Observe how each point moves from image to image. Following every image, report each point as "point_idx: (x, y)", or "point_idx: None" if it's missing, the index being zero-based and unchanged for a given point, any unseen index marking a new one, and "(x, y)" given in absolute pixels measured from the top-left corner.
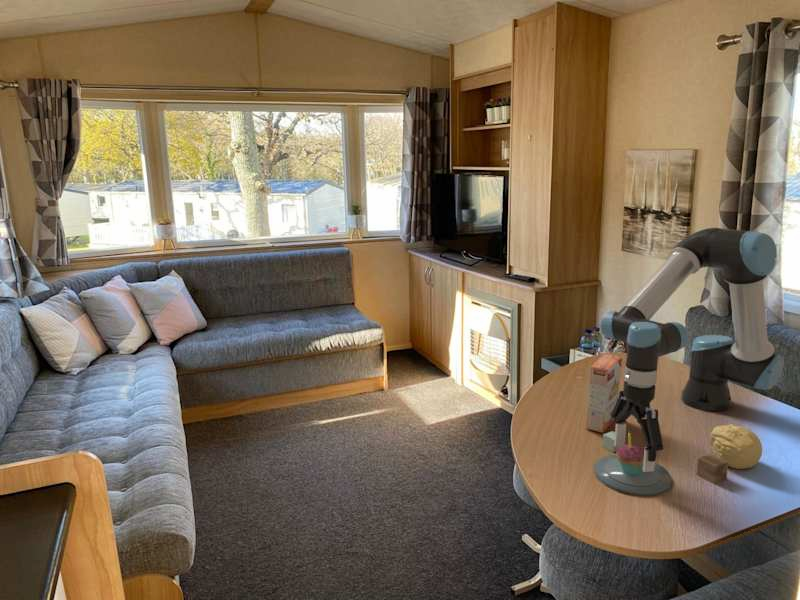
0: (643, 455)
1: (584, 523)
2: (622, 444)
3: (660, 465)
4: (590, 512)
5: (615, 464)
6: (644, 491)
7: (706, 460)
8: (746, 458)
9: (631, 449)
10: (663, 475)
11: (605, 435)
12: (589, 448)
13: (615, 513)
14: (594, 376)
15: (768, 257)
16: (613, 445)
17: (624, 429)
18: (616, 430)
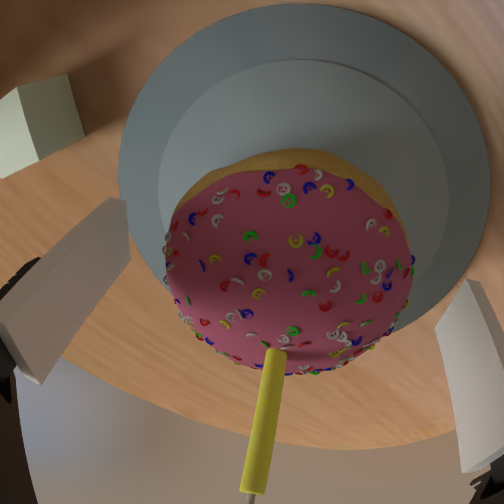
0: (390, 308)
1: (399, 435)
2: (121, 223)
3: (308, 4)
4: (384, 418)
5: None
6: (447, 286)
7: None
8: None
9: (298, 358)
10: (413, 85)
11: (6, 174)
12: (53, 210)
13: (429, 389)
14: None
15: None
16: (59, 148)
17: (44, 296)
18: (63, 343)
